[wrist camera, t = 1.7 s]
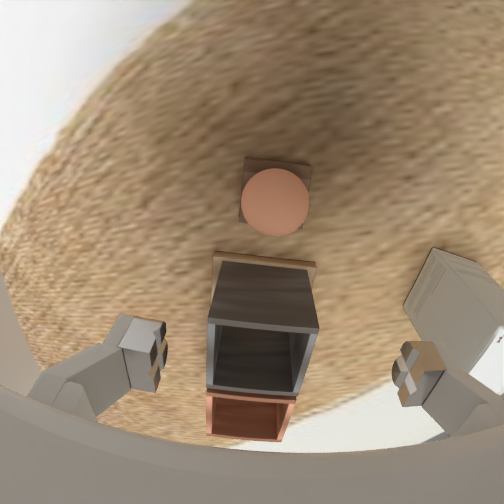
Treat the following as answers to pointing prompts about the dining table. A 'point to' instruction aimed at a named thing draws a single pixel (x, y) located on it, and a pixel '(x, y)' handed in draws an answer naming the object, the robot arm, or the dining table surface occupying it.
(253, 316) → the stacked cubby shelf
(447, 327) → the supplement box
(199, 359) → the dining table surface
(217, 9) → the dining table surface
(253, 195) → the ball
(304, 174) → the ball stand
